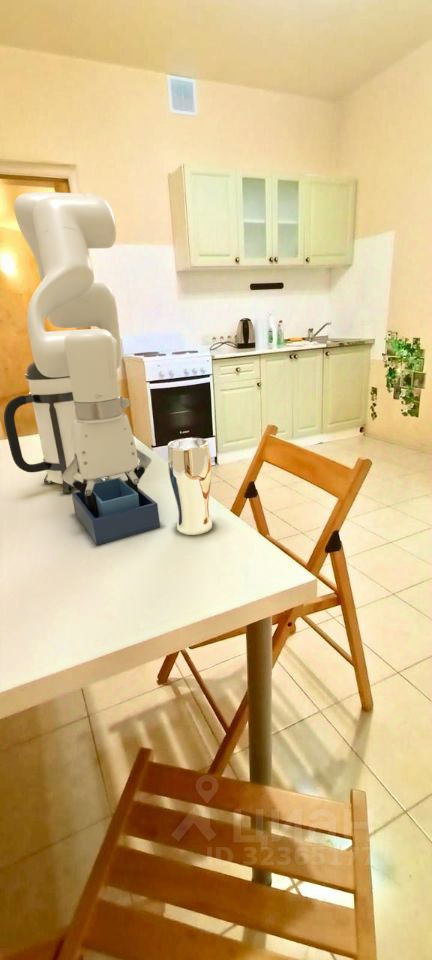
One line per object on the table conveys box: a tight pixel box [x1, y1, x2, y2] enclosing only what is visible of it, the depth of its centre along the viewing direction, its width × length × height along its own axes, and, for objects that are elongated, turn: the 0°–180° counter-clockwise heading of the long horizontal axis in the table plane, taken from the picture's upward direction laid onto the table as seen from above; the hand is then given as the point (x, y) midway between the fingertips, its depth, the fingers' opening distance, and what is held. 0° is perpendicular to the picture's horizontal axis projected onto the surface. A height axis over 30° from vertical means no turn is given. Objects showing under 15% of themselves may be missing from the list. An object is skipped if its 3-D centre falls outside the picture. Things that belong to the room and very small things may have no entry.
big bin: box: [71, 479, 161, 546], centre depth 81 cm, size 15×11×4 cm
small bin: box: [93, 476, 140, 518], centre depth 80 cm, size 10×6×4 cm, turn 30°
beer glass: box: [167, 437, 213, 536], centre depth 74 cm, size 7×7×15 cm
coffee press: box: [3, 361, 111, 494], centre depth 96 cm, size 17×16×30 cm
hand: (114, 507), depth 80 cm, fingers closed on small bin, 6 cm apart
